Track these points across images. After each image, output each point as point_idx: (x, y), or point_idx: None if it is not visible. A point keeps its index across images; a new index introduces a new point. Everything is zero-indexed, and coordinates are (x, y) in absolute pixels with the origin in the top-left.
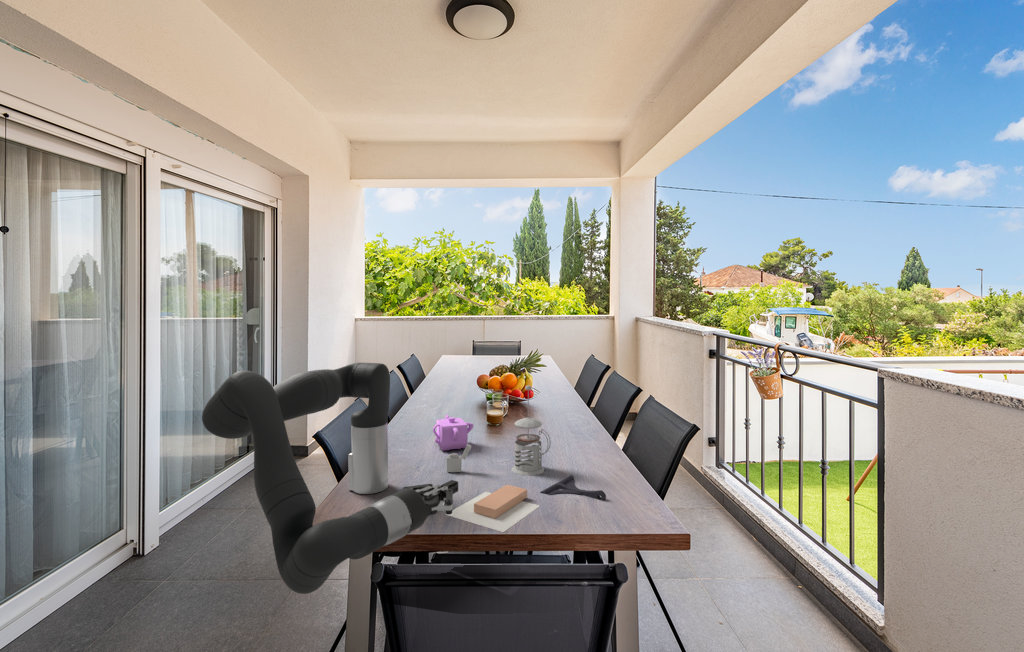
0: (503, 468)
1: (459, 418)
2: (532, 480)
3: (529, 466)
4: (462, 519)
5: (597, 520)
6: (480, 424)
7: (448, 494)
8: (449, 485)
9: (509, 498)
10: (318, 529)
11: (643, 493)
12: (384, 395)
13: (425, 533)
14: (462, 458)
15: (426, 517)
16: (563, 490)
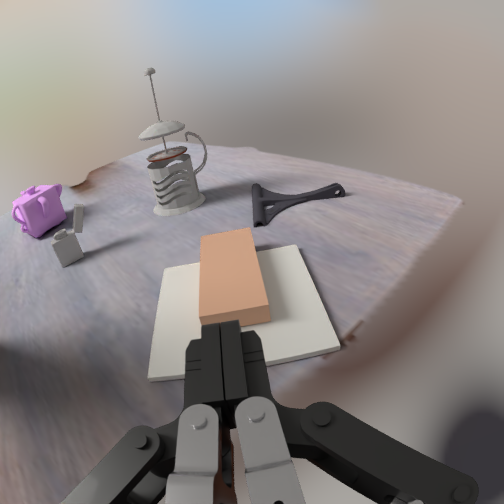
0: (142, 218)
1: (39, 186)
2: (208, 213)
3: (187, 195)
4: None
5: (393, 224)
6: (62, 190)
7: (376, 459)
8: (245, 374)
9: (251, 260)
10: None
11: (357, 172)
12: None
13: None
14: (76, 232)
15: None
16: (277, 205)
